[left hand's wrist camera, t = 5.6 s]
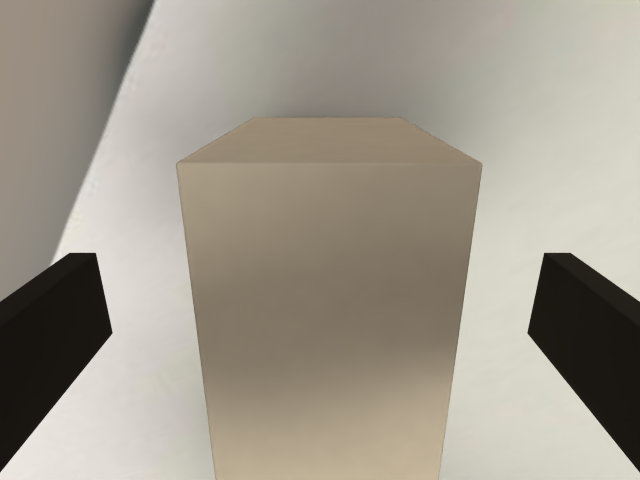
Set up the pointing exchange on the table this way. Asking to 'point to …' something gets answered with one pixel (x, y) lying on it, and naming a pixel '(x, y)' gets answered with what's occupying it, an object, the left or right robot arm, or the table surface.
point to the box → (328, 294)
